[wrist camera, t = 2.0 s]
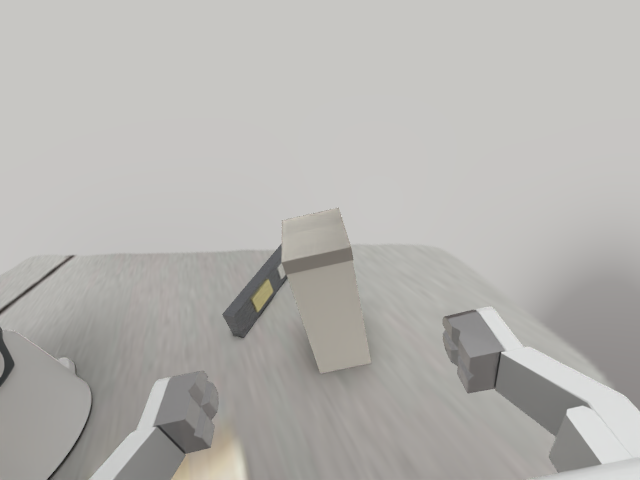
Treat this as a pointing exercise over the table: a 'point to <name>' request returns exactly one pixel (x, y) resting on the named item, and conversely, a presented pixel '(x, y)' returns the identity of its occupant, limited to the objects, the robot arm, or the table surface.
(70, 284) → the table surface
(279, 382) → the table surface
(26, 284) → the table surface
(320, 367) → the carton
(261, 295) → the rail
